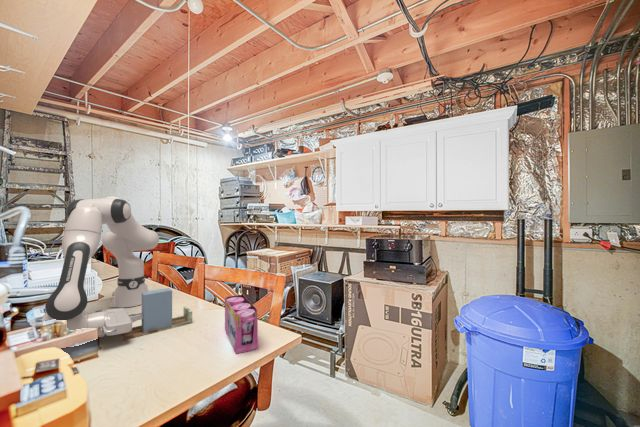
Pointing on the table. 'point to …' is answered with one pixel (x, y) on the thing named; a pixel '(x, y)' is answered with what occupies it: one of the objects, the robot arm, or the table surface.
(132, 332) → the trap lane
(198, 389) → the table surface
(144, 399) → the table surface
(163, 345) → the table surface
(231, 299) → the gum box
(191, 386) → the table surface
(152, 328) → the pillar block
